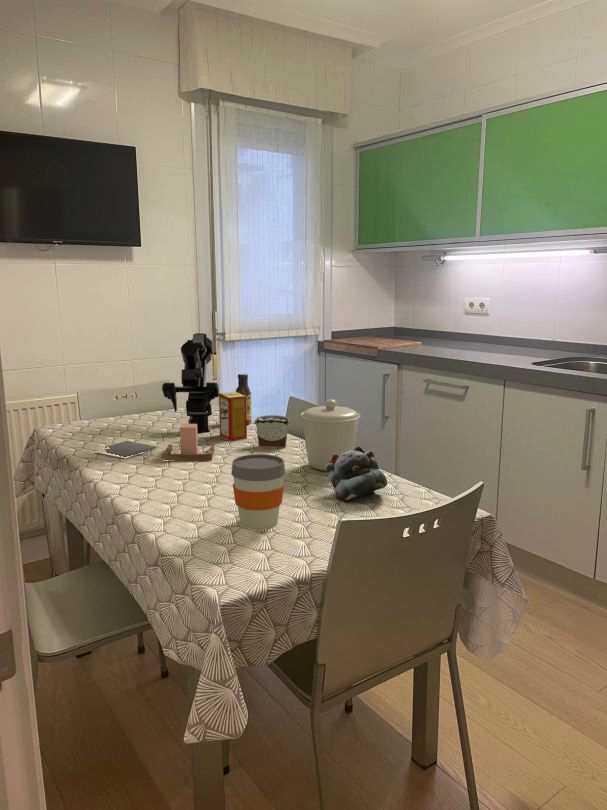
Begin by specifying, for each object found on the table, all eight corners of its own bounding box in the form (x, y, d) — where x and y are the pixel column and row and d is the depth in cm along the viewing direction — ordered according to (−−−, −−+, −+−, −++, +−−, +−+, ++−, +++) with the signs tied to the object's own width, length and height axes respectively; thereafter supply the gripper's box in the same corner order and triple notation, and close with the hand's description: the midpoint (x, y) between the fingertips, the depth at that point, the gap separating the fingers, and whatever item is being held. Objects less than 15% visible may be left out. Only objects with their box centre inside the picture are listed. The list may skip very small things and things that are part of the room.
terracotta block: (182, 453, 204) (181, 424, 202) (198, 453, 204) (197, 423, 202) (180, 457, 199) (179, 427, 197) (196, 457, 199) (195, 427, 197)
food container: (292, 443, 217) (292, 415, 215) (290, 447, 211) (290, 419, 209) (257, 442, 219) (257, 414, 217) (254, 446, 213) (254, 418, 211)
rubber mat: (126, 443, 216) (126, 440, 216) (156, 449, 209) (156, 446, 208) (94, 452, 204) (94, 449, 204) (124, 459, 197) (124, 456, 197)
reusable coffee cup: (285, 512, 153) (285, 453, 150) (285, 532, 141) (285, 469, 138) (234, 512, 153) (233, 453, 150) (230, 532, 140) (228, 469, 137)
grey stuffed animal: (333, 504, 158) (319, 452, 161) (336, 506, 170) (322, 458, 173) (390, 488, 157) (374, 436, 160) (389, 491, 169) (374, 443, 172)
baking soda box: (246, 438, 223) (246, 395, 220) (230, 440, 220) (229, 396, 217) (236, 433, 231) (235, 391, 228) (219, 435, 228) (218, 392, 225)
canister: (355, 477, 180) (357, 406, 176) (294, 473, 183) (295, 404, 179) (362, 460, 197) (363, 395, 193) (306, 456, 201) (307, 393, 197)
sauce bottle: (250, 425, 244) (250, 375, 240) (234, 425, 244) (233, 375, 240) (252, 421, 250) (251, 373, 246) (236, 421, 250) (236, 372, 246)
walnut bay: (168, 450, 207) (168, 444, 207) (214, 449, 208) (214, 444, 208) (163, 461, 195) (162, 455, 195) (211, 460, 196) (211, 454, 196)
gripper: (161, 359, 207) (157, 398, 199) (217, 359, 208) (215, 398, 200) (166, 377, 217) (162, 416, 209) (219, 377, 218) (218, 415, 210)
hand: (189, 411), depth 207 cm, fingers open, 9 cm apart
